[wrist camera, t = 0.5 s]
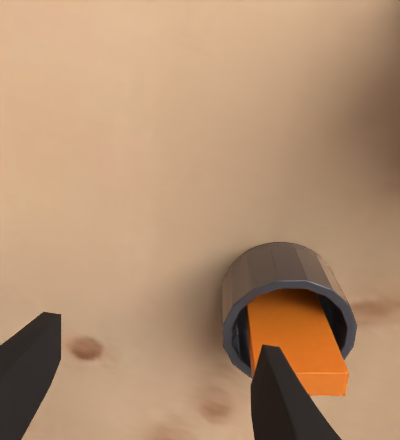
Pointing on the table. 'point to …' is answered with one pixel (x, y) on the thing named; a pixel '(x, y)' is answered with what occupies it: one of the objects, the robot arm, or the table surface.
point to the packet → (298, 338)
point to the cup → (273, 280)
